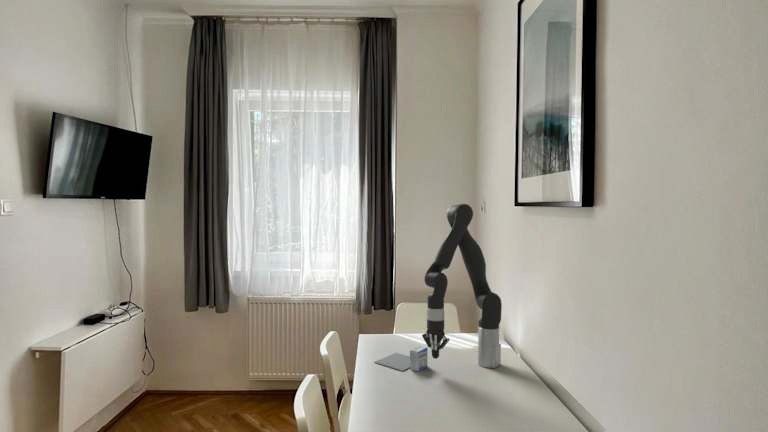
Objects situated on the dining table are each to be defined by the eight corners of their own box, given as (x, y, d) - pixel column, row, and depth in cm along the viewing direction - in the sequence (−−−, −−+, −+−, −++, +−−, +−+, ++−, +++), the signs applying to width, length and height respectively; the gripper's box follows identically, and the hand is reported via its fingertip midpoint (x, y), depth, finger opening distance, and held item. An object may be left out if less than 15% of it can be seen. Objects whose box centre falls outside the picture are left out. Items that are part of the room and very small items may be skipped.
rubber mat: (423, 361, 190) (423, 360, 190) (402, 371, 178) (402, 370, 178) (396, 353, 201) (396, 352, 201) (374, 362, 188) (374, 361, 188)
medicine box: (418, 372, 178) (418, 352, 178) (409, 369, 181) (409, 350, 181) (427, 366, 184) (427, 347, 184) (419, 364, 187) (419, 345, 187)
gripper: (453, 318, 175) (453, 359, 176) (427, 313, 184) (427, 352, 184) (444, 322, 170) (444, 364, 170) (418, 317, 178) (417, 356, 178)
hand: (435, 357), depth 177 cm, fingers closed
